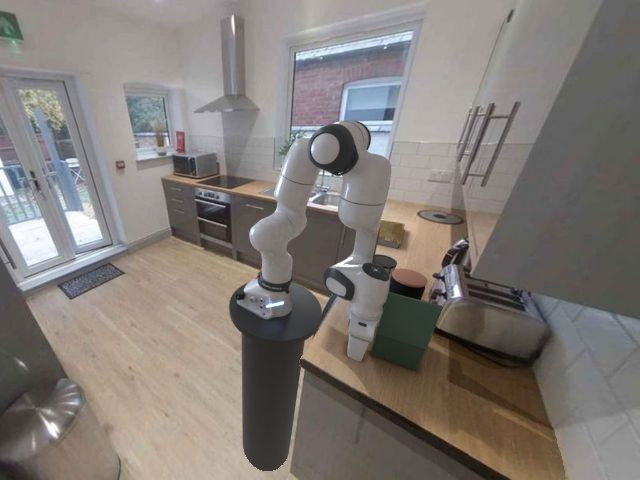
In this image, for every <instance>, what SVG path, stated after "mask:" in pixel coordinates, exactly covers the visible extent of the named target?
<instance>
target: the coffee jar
mask: <svg viewBox="0 0 640 480" xmlns="http://www.w3.org/2000/svg"><path fill="white" fill-rule="evenodd" d="M427 284H428V278H427V277H426V276H425V275H423V274H422V273H420V272H418V271H416V270H413V269H409V268H395V270H394V271H393V272H392V277H391V278H390V287H389V292H391V293H395V294H398V295H402V296H406V297H410V298H414V299H418V300H421V301H422V298H423V296H424V294H425V290H426V286H427ZM385 303H386V302H385ZM385 303H384V305H383V309H384V306H385Z"/></svg>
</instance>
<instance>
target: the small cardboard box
mask: <svg viewBox="0 0 640 480" xmlns="http://www.w3.org/2000/svg"><path fill="white" fill-rule="evenodd" d="M405 225H406V224H405V223H402V222H397V221H391V220H386V219H385V220H384V219H381V227H380V233H379V238H378V243H377V245H379V246H385V247H389V248H394V249H398V248H399V245H401V243H402V240H403V234H404V230H405Z"/></svg>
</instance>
